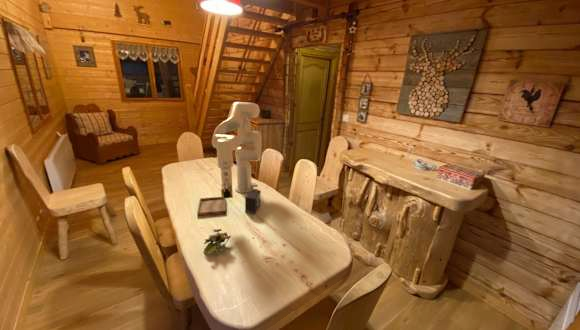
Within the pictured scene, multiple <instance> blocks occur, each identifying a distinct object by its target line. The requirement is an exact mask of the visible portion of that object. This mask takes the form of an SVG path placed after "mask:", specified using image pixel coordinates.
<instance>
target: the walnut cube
mask: <svg viewBox="0 0 580 330" xmlns="http://www.w3.org/2000/svg"><path fill="white" fill-rule="evenodd" d="M228 185H229V184H228ZM220 186H221V187H220V190H221V197H222V198H224V186H222V183H221V185H220ZM229 189H230V198H229V199H232V198H234V197H233V185H232V186H230V185H229Z"/></svg>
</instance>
